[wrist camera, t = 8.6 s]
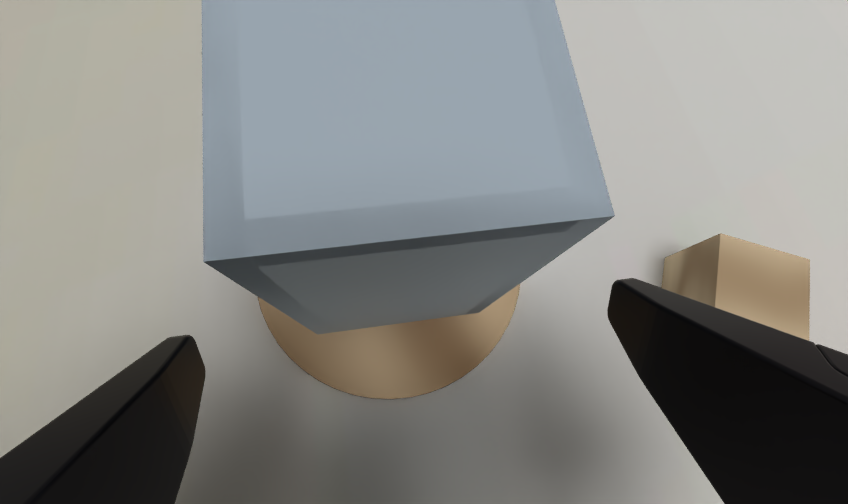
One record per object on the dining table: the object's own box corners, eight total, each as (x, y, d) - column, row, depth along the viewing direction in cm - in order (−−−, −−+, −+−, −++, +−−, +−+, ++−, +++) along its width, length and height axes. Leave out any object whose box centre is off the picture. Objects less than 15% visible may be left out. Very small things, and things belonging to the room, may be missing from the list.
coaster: (390, 462, 16) (390, 464, 16) (200, 261, 18) (196, 258, 17) (568, 262, 19) (572, 260, 19) (391, 103, 21) (392, 98, 20)
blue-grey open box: (478, 312, 18) (614, 215, 7) (317, 334, 17) (203, 261, 6) (456, 189, 19) (542, -41, 9) (307, 204, 18) (202, -29, 8)
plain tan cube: (733, 356, 19) (809, 351, 15) (655, 333, 19) (713, 323, 15) (737, 279, 20) (810, 258, 16) (663, 257, 20) (720, 232, 16)
